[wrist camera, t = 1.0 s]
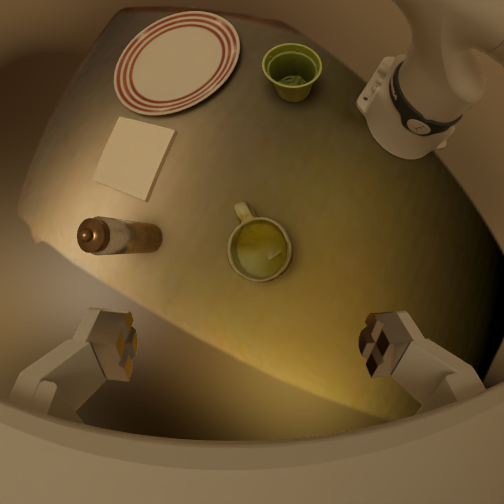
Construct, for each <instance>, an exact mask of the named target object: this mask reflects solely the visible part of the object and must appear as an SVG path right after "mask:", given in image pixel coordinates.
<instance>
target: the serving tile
mask: <svg viewBox="0 0 504 504" xmlns="http://www.w3.org/2000/svg"><path fill="white" fill-rule="evenodd" d="M176 134H177V132H176V131H175V130H172V129H169V128H165V127H161V126H157V125H153V124H149V123H145V122H141V121H137V120H132V119H128V118H124V117H119V119H118V121H117V123H116V125H115V127H114V129H113V131H112V134H111V136H110V138H109V140H108V142H107V145H106V147H105V149H104V152H103V154H102V157H101V159H100V161H99V164H98V166H97V169H96V172H95V174H94V177H93V179H92V180H94V181H96V182H99V183H101V184H104V185H106V186H109V187H111V188H114V189H116V190H119V191H121V192H124V193H126V194H129V195H131V196H134V197H136V198H139V199H141V200H144V201H147V202H148V200H149V198H150V195H151V193H152V190H153V188H154V185H155V183H156V180H157V178H158V175H159V173H160V171H161V168H162V166H163V163H164V161H165V159H166V157H167V154H168V152H169V150H170V147H171V145H172V143H173V141H174V139H175V136H176Z"/></svg>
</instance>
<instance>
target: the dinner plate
mask: <svg viewBox="0 0 504 504" xmlns="http://www.w3.org/2000/svg"><path fill="white" fill-rule="evenodd" d="M239 52H240V41H239V37H238V34H237V32H236V30H235V29H234V27H233V26H232V25H231V24H230V23H229V22H228V21H227V20H225V19H224V18H222V17H220V16H218V15H215V14H212V13H208V12H200V11H191V12H182V13H178V14H174V15H171V16H168V17H165V18H163V19H161V20H159V21H157V22H155V23H153V24H151V25H150V26H148V27H147V28H145V29H144V30H143V31H141V32H140V33H139V34H138V35H137V36H136V37H135V38H134V39H133V40H132V41H131V42H130V43H129V44H128V46H127V47H126V48H125V50H124V51H123V53H122V55H121V56H120V58H119V60H118V63H117V65H116V69H115V74H114V86H115V91H116V94H117V96H118V98H119V99H120V101H121V102H122V103H123V104H124V105H125V106H126V107H127V108H129V109H130V110H132V111H134V112H137V113H140V114H145V115H165V114H171V113H175V112H178V111H181V110H184V109H186V108H189V107H191V106H193V105H195V104H197V103H199V102H201V101H202V100H204V99H206V98H207V97H209V96H210V95H211V94H212V93H214V92H215V91H216V90H217V89H218V88H219V87H220V86H221V85H222V84H223V83H224V82H225V81H226V80H227V79H228V77H229V76H230V74H231V73H232V71H233V69H234V67H235V65H236V63H237V61H238V57H239Z"/></svg>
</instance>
